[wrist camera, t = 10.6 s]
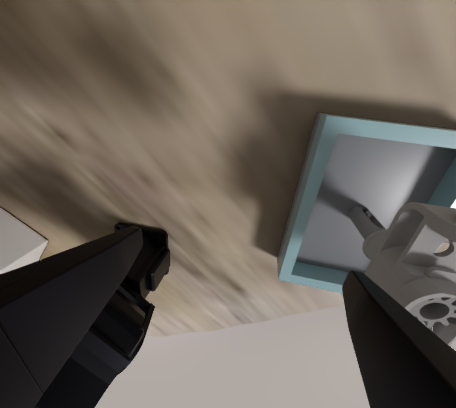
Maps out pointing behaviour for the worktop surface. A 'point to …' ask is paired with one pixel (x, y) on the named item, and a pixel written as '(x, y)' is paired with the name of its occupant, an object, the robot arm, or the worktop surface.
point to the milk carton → (18, 243)
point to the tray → (359, 191)
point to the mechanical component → (415, 261)
